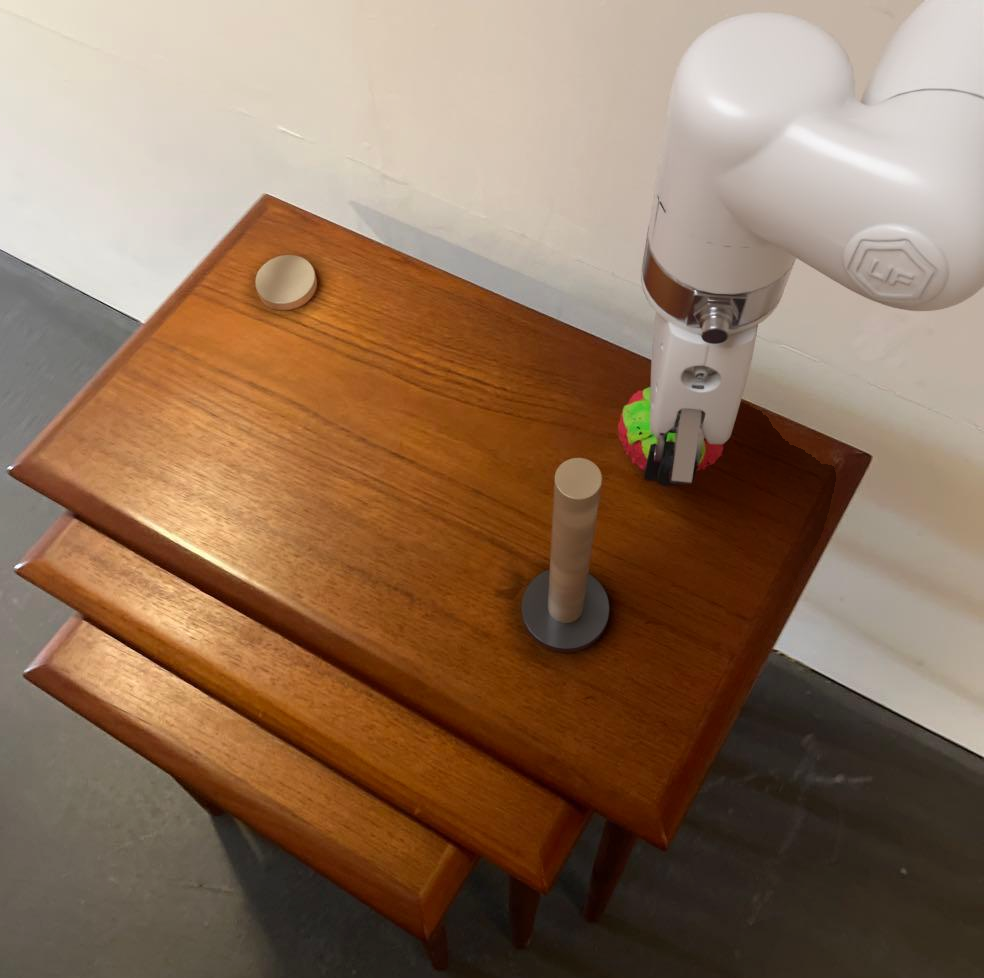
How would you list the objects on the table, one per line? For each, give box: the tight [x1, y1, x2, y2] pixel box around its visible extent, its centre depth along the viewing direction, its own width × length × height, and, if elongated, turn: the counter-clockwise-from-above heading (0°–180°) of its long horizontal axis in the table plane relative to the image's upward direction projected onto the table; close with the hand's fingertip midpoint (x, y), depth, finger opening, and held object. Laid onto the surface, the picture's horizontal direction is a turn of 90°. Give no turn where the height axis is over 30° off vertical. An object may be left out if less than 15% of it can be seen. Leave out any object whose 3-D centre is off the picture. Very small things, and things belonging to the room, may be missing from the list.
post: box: [521, 457, 611, 654], centre depth 58 cm, size 6×6×20 cm
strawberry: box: [617, 386, 724, 473], centre depth 67 cm, size 6×7×10 cm
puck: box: [254, 254, 318, 312], centre depth 81 cm, size 5×5×1 cm
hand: (670, 433), depth 67 cm, fingers closed on strawberry, 6 cm apart
